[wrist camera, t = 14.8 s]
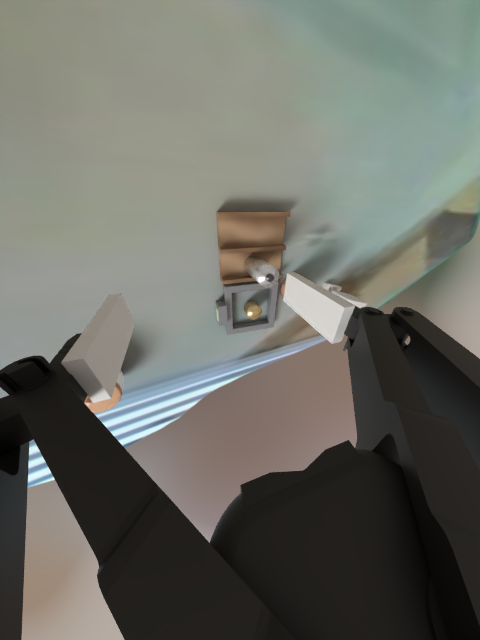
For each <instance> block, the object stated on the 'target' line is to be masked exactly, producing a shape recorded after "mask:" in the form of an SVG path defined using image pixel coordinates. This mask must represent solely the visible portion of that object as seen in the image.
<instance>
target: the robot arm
mask: <svg viewBox="0 0 480 640" xmlns="http://www.w3.org/2000/svg"><path fill="white" fill-rule="evenodd" d="M283 301H284V302H285V303H286V304H288V305H289V306H290V307H291V308H292V309H293V310H294V311H295V312H297V313H298V314H299V315H300V316H301V317H302V318H303V319H305V320H306V321H307V322H308V323H309V324H310V325H311V326H312V327H314V328H315V329H316V330H317V331H318V332H319V333H320V334H322V335H323V336H324V337H325V338H326V339H327V340H328V341H330V342H331V343H332V344H333V343H337V342H341V341H342V339H343V336H344V334H345V335H346V336H348V339H347V342H346V344H345V347H344V349H343V350H344V351H345V350H346V349H348V358H349V367H350V375H351V385H352V394H353V402H354V411H355V419H356V428H357V443H356V447H355V448H354V447H353V446H352V444H351V443H350V441H349V440H348V441H345V442H343V443H340V444H338V445H336V446H333V447H331V448H329V449H326V450H325V451H324V452H323V453H322V454H321V455H320V456H318V458H316V459H315V461H313V462H312V463H311V464H310V465H309V466H308V467H307V468H306V469H305V470H303V471H291V472H273V473H268V474H266V475H263V476H261V477H259V478H256V479H254V480H251V481H249V482H247V483H244V484H242V485H241V494H240V495H238V496H237V497H236V498H235V499H234V500H233V502H232V503H231V504H230V505H229V506H228V508H227V509H226V510H225V512H224V513H223V515H222V517H221V518H220V520H219V522H218V524H217V526H216V529H215V531H214V533H213V535H212V538H211V541H210V543H209V542H208V541H207V540H206V539H205V538H204V536H203V535H202V534H201V533H200V532H199V531H198V530H197V529H196V528H195V526H194V525H193V524H192V523H191V522H190V521H189V520H188V519H187V517H186V516H185V515H184V514H183V513H182V512H181V511H180V510H179V508H178V507H177V506H176V505H175V504H174V503H173V502H172V501H171V499H169V497H168V496H167V495H166V494H165V493H164V492H163V491H162V490H161V489H160V488H159V487H158V485H157V484H156V483H155V482H154V481H153V480H152V479H151V478H150V477H149V475H148V474H147V473H146V472H145V471H144V470H143V469H142V468H141V467H140V465H139V464H138V463H137V462H136V461H135V460H134V459H133V457H132V456H131V455H130V454H129V453H128V452H127V451H126V449H125V448H124V447H123V446H122V445H121V444H120V443H119V442H118V440H117V439H116V438H115V437H114V436H113V435H112V434H111V433H110V431H109V430H108V429H107V428H106V427H105V426H104V425H103V424H102V422H101V421H100V420H99V419H98V418H97V417H96V416H95V415H94V413H93V412H92V411H91V410H90V409H89V408H88V407H87V406H86V404H85V403H84V402H85V400H86V398H87V396H88V397H89V398H90V400H91V401H92V402H93V403H95V402H99V401H103V400H107V399H111V397H112V394H113V391H114V388H115V385H116V382H117V379H118V376H119V373H120V370H121V367H122V364H123V361H124V358H125V354H126V351H127V348H128V345H129V342H130V339H131V336H132V333H133V330H134V327H135V324H134V322H133V319H132V317H131V314H130V312H129V309H128V307H127V305H126V302H125V300H124V297H123V295H122V293H121V294H113V295H109V296H108V298H107V299H106V301H105V302H104V303H103V305H102V306H101V308H100V309H99V310H98V312H97V313H96V315H95V316H94V317H93V319H92V320H91V321H90V323H89V324H88V326H87V327H86V328H85V330H84V331H83V333H81V334H76V335H75V336H73V337H72V338H70V339H69V340H68V341H67V342H66V343H65V344H64V346H63V347H62V349H61V350H60V351H59V352H58V354H57V355H56V356H55V357H54V358H53V360H52V361H51V362H50V364H49V363H48V361H47V360H46V359H45V358H44V357H42V356H31V357H27V358H23V359H21V360H18V361H15V362H14V363H12V364H10V365H8V366H6V367H5V368H3V369H2V370H0V387H1V388H2V389H3V390H4V391H6V392H7V393H8V394H9V395H8V396H6V397H3V398H0V640H21V634H22V609H23V584H24V557H25V534H26V533H25V531H26V509H27V484H28V459H29V441H31V440H33V439H34V441H35V443H36V444H37V446H38V448H39V450H40V452H41V454H42V456H43V458H44V460H45V461H46V463H47V465H48V467H49V469H50V471H51V473H52V475H53V476H54V478H55V480H56V482H57V484H58V486H59V488H60V490H61V492H62V493H63V495H64V497H65V499H66V501H67V503H68V505H69V507H70V508H71V510H72V512H73V514H74V516H75V518H76V520H77V522H78V524H79V525H80V527H81V529H82V531H83V533H84V535H85V537H86V539H87V541H88V542H89V544H90V546H91V548H92V550H93V552H94V554H95V556H96V558H97V560H98V563H99V570H98V574H97V578H98V583H99V587H100V589H101V592H102V594H103V597H104V599H105V601H106V603H107V605H108V607H109V609H110V611H111V613H112V615H113V617H114V619H115V621H116V623H117V625H118V627H119V629H120V631H121V633H122V635H123V637H124V639H125V640H480V359H479V358H478V357H476V356H475V355H474V354H473V353H471V352H470V351H469V350H467V349H466V348H465V347H463V346H462V345H461V344H459V343H458V342H457V341H455V340H454V339H453V338H451V337H450V336H449V335H447V334H446V333H445V332H443V331H442V330H441V329H440V328H438V327H437V326H436V325H434V324H433V323H432V322H430V321H429V320H428V319H427V318H425V317H424V316H423V315H421V314H420V313H418V312H417V311H415V310H412V309H411V308H407V307H396V308H394V310H393V312H392V314H384V313H383V312H382V311H380V310H378V309H375V308H371V307H362V308H359V307H357V306H355V305H353V304H352V303H350V302H348V301H346V300H344V299H343V298H341V297H339V296H337V295H335V294H333V293H331V292H330V291H328V290H326V289H324V288H322V287H321V286H319V285H317V284H315V283H313V282H312V281H310V280H308V279H306V278H305V277H303V276H301V275H299V274H297V273H296V272H291V273H287V278H286V285H285V293H284V300H283ZM408 336H410V339H411V340H410V343H409V344H408V345H406V344H405V343H404V342H405V341H406V339H407V338H408Z"/></svg>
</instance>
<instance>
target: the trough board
mask: <svg viewBox="0 0 480 640" xmlns="http://www.w3.org/2000/svg"><path fill="white" fill-rule="evenodd" d="M286 217H290V212H217V228H218V244H219V260H220V276H221V282H222V284H231V283H240V282H250V281H256V280H255V279H254V278H253V277H252V276H250V275H249V274H248V273H247V272H246V271H245V269H244V261H245V260H246V258H247V257H249V256H251V255H255V256H258V257H259V258H261V259H263V260H264V261H266V262H268V263H269V264H271V265H273V266H274V267H276V268H277V269H278V271H279V278H282V274H280V264H281V256H282V250H286V246H285V245H283V238H284V230H285V221H286Z"/></svg>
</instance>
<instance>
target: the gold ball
mask: <svg viewBox="0 0 480 640" xmlns="http://www.w3.org/2000/svg"><path fill="white" fill-rule="evenodd" d="M244 311H245V313H246V314H247V316H248V318H249V319H251V320H255V319H257V318H259V317H260V316H261V313H262V310H261V308H260V307H259V306H258V305H257V303H256V302H254V301H249V302H247V303H246V304H245V306H244Z"/></svg>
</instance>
